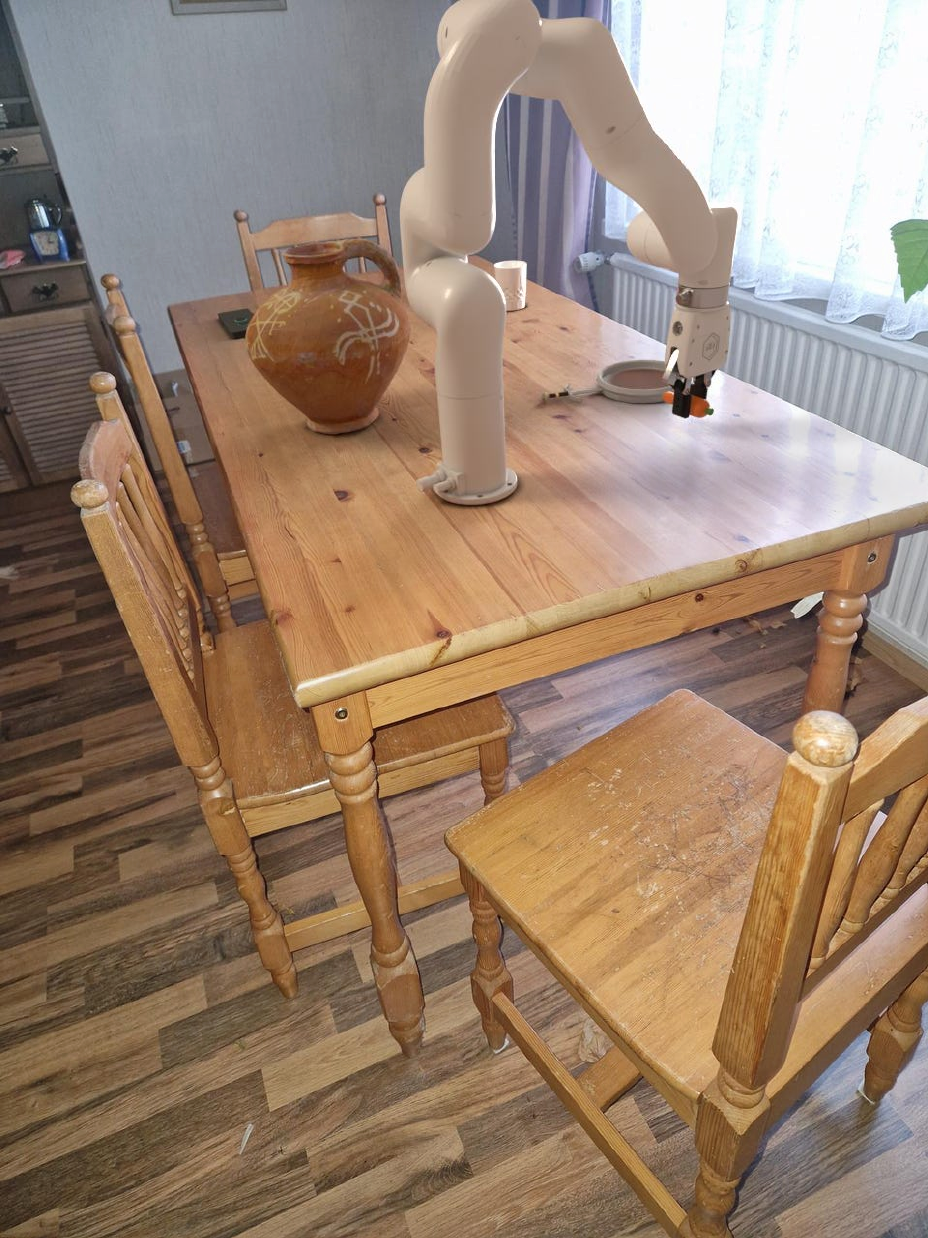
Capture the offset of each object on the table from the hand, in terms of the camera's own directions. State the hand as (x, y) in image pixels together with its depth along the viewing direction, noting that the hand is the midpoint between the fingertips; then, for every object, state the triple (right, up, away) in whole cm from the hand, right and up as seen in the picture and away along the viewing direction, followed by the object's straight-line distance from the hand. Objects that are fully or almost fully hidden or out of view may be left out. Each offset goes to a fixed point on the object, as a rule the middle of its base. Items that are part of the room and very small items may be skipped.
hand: (688, 411), depth 132 cm
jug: (-59, +2, +16) cm, 61 cm away
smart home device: (-93, +39, +71) cm, 123 cm away
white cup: (-25, +43, +69) cm, 85 cm away
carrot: (0, 0, 0) cm, 1 cm away
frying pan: (-9, +8, +19) cm, 22 cm away
